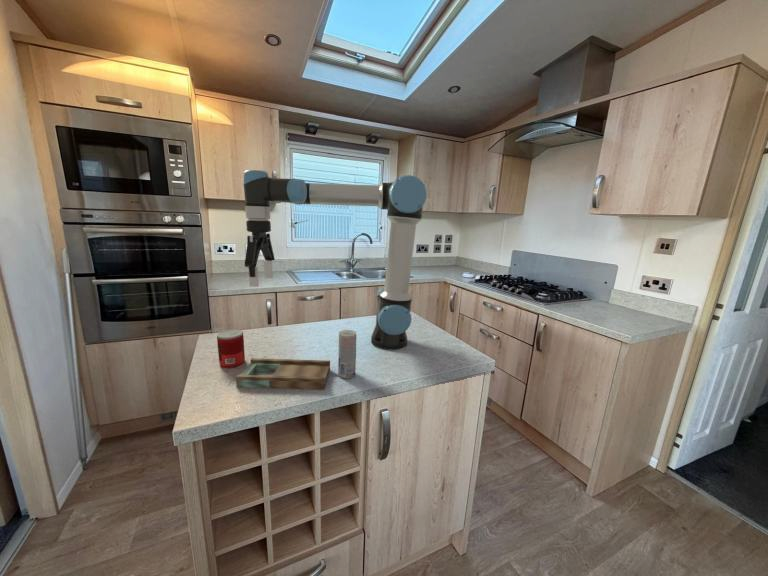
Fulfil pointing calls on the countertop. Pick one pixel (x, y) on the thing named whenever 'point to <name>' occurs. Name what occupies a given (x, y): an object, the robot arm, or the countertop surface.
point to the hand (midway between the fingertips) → (262, 282)
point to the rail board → (285, 374)
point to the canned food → (231, 348)
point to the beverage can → (347, 354)
